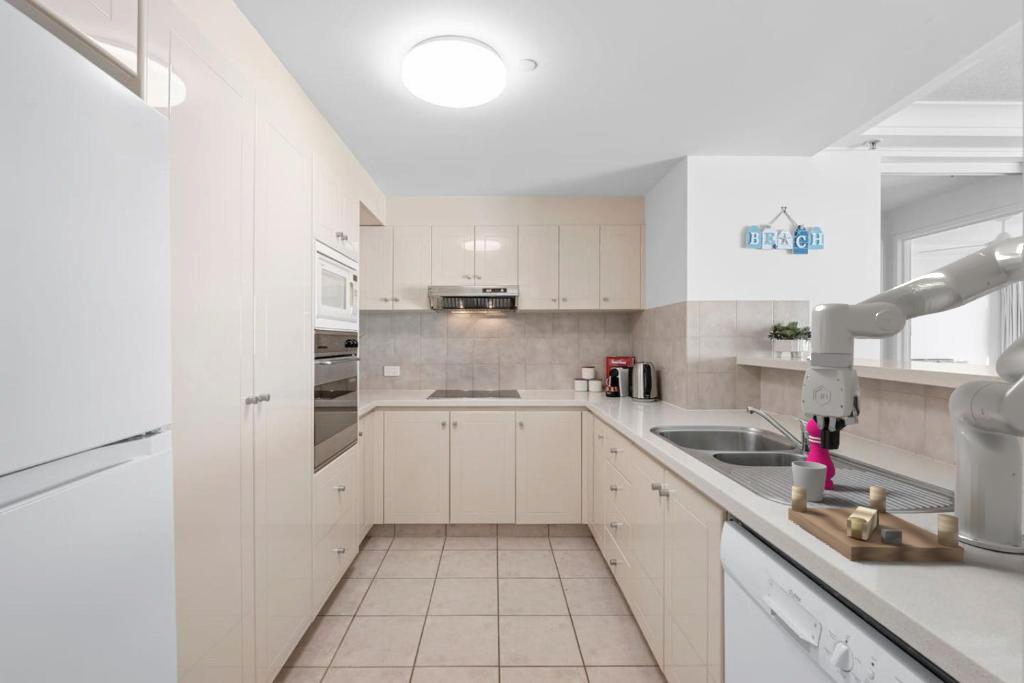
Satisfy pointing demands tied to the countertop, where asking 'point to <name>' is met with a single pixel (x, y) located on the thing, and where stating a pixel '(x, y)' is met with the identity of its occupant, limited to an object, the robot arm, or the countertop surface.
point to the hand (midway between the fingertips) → (829, 448)
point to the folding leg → (862, 522)
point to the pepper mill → (820, 453)
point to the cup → (810, 478)
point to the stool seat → (878, 532)
